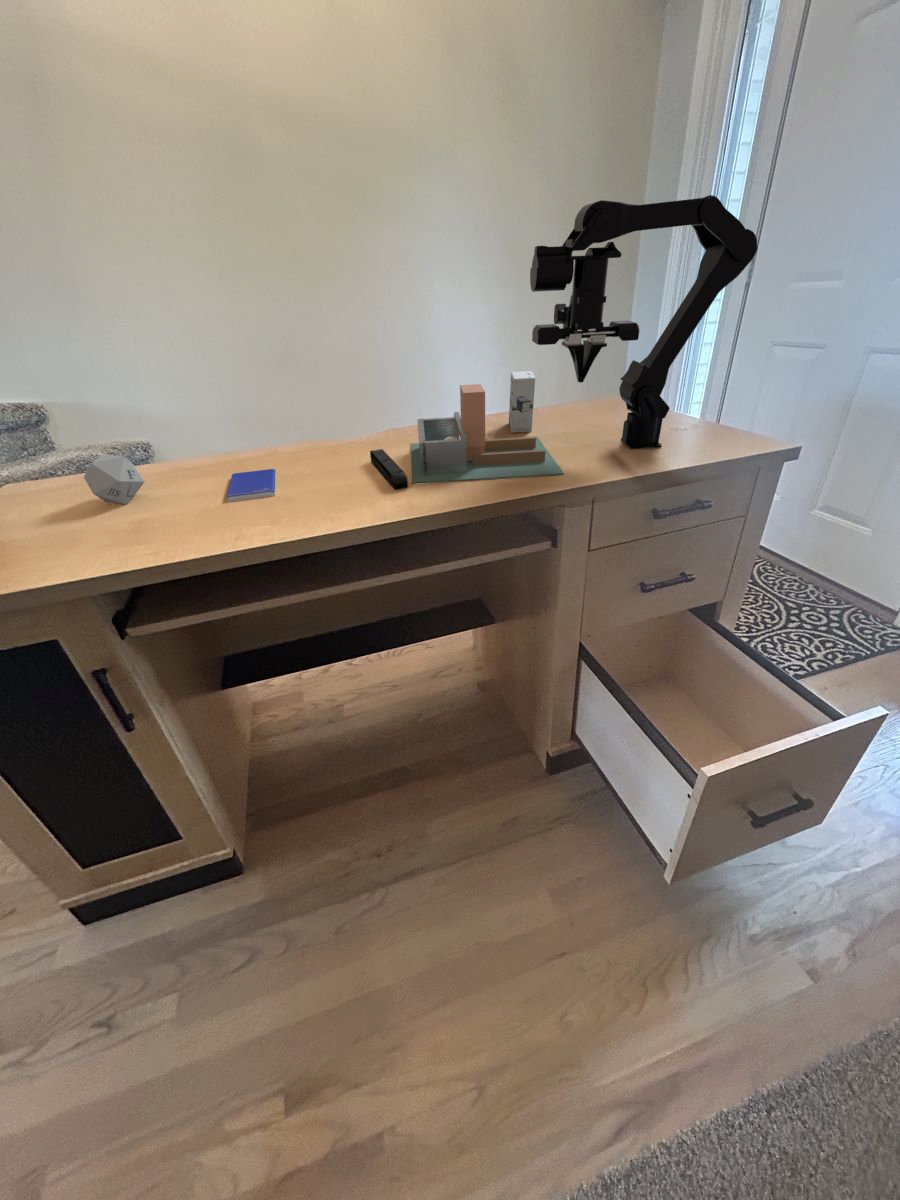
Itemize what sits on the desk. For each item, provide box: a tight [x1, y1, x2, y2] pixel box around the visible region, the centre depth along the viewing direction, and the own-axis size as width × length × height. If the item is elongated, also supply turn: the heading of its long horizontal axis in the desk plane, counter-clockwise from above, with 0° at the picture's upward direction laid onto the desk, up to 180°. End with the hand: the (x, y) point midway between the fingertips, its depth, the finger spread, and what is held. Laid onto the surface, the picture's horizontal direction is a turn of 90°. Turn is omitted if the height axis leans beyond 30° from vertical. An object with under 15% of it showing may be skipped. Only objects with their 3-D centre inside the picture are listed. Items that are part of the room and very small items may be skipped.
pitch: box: [410, 435, 565, 485], centre depth 106 cm, size 28×24×2 cm
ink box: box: [508, 370, 536, 433], centre depth 122 cm, size 9×5×12 cm, turn 179°
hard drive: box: [225, 468, 277, 503], centre depth 98 cm, size 2×8×12 cm
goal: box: [416, 411, 467, 475], centre depth 104 cm, size 9×17×7 cm, turn 4°
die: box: [83, 453, 145, 505], centre depth 93 cm, size 8×9×10 cm
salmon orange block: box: [459, 383, 486, 461], centre depth 103 cm, size 4×7×13 cm, turn 4°
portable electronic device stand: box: [369, 448, 409, 491], centre depth 100 cm, size 18×3×3 cm, turn 21°
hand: (580, 382), depth 103 cm, fingers closed
